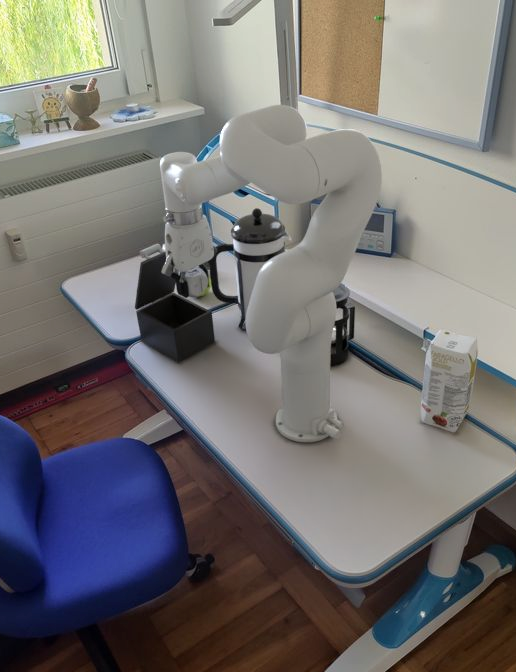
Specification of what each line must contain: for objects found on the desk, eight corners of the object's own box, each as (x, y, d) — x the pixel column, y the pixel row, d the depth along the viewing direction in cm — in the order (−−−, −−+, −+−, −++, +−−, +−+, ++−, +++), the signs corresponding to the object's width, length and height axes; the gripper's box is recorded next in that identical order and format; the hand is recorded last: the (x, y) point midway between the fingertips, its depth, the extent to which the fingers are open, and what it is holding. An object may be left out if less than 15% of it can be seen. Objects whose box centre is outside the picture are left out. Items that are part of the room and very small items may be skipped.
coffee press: (268, 297, 178) (263, 190, 161) (304, 321, 167) (301, 209, 150) (213, 318, 171) (201, 208, 154) (246, 345, 159) (237, 230, 143)
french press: (319, 372, 149) (319, 281, 136) (298, 352, 156) (296, 264, 143) (362, 357, 153) (366, 267, 140) (341, 338, 160) (342, 251, 147)
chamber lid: (182, 246, 153) (168, 233, 155) (142, 264, 147) (128, 250, 148) (174, 291, 165) (161, 278, 167) (136, 310, 158) (123, 296, 160)
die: (191, 299, 144) (189, 279, 142) (178, 291, 148) (175, 271, 145) (209, 291, 147) (207, 271, 144) (195, 283, 150) (193, 264, 147)
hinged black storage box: (215, 342, 161) (211, 311, 156) (178, 363, 155) (173, 331, 150) (177, 322, 170) (173, 292, 165) (141, 341, 164) (135, 310, 159)
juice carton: (458, 437, 128) (470, 357, 118) (415, 423, 132) (424, 344, 122) (470, 415, 134) (483, 336, 123) (429, 402, 138) (438, 325, 127)
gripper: (163, 232, 130) (174, 311, 140) (227, 206, 140) (233, 281, 150) (140, 222, 134) (152, 299, 145) (203, 197, 144) (211, 271, 154)
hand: (193, 289), depth 147 cm, fingers closed on die, 5 cm apart
